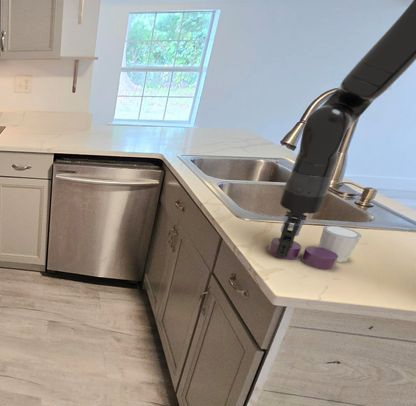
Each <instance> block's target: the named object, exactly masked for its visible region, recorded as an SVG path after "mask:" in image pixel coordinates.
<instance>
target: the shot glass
mask: <svg viewBox="0 0 416 406" xmlns="http://www.w3.org/2000/svg"><path fill="white" fill-rule="evenodd" d="M361 238H362V235H361V234H360V233H359V232H358V231H356V230H354V229H351V228H348V227H344V226H340V225H324V226H323V227H322V231H321V236H320V240H319V244H318V247H321V248H325V249H328V250H330V251H333V252H334V253H336V254H337V255H338V258H337V261H336V262H338V263H345V262H347V261H348V260H349V257H350V256H351V254H352V253H353V251H354V249H355V248H356V246H357V244H358V243H359V242H360V239H361Z"/></svg>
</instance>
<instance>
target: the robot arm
mask: <svg viewBox="0 0 416 406" xmlns="http://www.w3.org/2000/svg"><path fill="white" fill-rule="evenodd" d="M415 61H416V0H412V1H411V3H410V4H409V5H408V6H407V8H406V9H405V10H404V12H403V13H402V14H401V15H400V16H399V17H398V18H397V20H395V22H394V23H393V24H392V25H391V26H390V28H389V29H388V30H387V31H385V33H384V34H383V35H382V36H381V37H380V38H379V40H377V41H376V42H375V44H374V45H372V47H371V48H370V49H369V50H368V51H367V52H366V53H365V54H364V55H363V57H362V58H360V60H359V61H358V62H356V65H354V67H353V68H352V69H351V70H350V71H349V72H348V73H347V74H346V75H345V76H344V78H343V79H342V81H341V83H340V84H339V86H338V87H337V89H336V90H335V91H334V92H333V93H332V94H331V95H330V96H329V97H328V99H326V101H324V103H322V105H320V106H319V107H318V108H316V109H315V110H313V111H311V112H310V114H309V115H308V117H307V118H306V120H305V123H304V126H303V129H302V133H301V137H300V145H299V150H298V152H297V155H296V157H295V160H294V163H293V166H292V169H291V172H290V173H289V175H288V177H287V180H286V182H285V186H284V188H283V192H282V194H281V198H280V200H279V204H280V206H281V207H282V208H284V209H287V211H286V212H285V214H284V216H283V223H282V226H281V228H280V232H281V235H280V237H279V238H280V239H279V242H280V243H279V246H278V249H277V252H276V254H277V255H279V256H282V257H287V255H288V252H289V250H290V247H291V245H292V244H293V241H295V237H298V236H299V235H300V233H301V229H302V227H303V226H304V225H305V223H306V220H307V217H308V215H307V214H317V213H319V212H320V211H321V208H322V206H323V203H324V202H325V201H324V200H325V198H326V195H327V193H328V190H329V188H330V185H331V180H332V176H333V173H334V170H335V167H336V165H337V163H338V159H339V150H340V147H341V144H342V142H343V139H344V137H345V135H346V132H347V131H348V129H349V128H351V127H352V126H353V125H354V123H355V122H356V121H357V120H359V118H360V117H361V116H362V115H363V114H364V113H365V112H366V111H367V109H368V108H369V107H370V106H371V105H372V103H373V102H374V101H375V100H377V99H378V98H379V97H380V96H381V95H383V94H384V93H385V92H386V91H387V90H388V89H389V88H390V87H392V85H393V84H394V83H395V82H396V81H397V80H398V79H399V78H400V77H401V76H402V75H403V74H404V73H406V71H407V70H408V69H409V68H410V67H411V66H412V65H413V63H414V62H415Z"/></svg>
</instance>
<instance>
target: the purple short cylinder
mask: <svg viewBox="0 0 416 406" xmlns="http://www.w3.org/2000/svg"><path fill="white" fill-rule="evenodd" d="M337 258H338V255H337V254H336V253H334V252H333V251H330V250H328V249H325V248H321V247H319V246H315V245H310V246H306V247H305V248H304V251H303V253H302V256H301V257H300V259H301V261H302V262H303V263H304V264H306V265H307V266H309V267H312V268H315V269H319V270H329V271H330V270H333V269H334V268H335V265H336V263H337V262H338V261H337Z"/></svg>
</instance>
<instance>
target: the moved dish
mask: <svg viewBox="0 0 416 406" xmlns="http://www.w3.org/2000/svg"><path fill="white" fill-rule="evenodd" d="M279 239H280V237H273V238H272V239H271V240H270V243H269V246H268V248H267V249H268V250H267V251H268V253H270V254H271V255H272V256H275V257H278V258H281V259H284V260H297V259H298V258H299V255H300V252H301V250H302V245H301V244H300V243H299V242H297V241H295V240H293V244H292V245H291V247H290V250H289V252H288V255H287V257H282V256H279V255H277V254H276V252H277V249H278V246H279V243H280V242H279Z"/></svg>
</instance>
